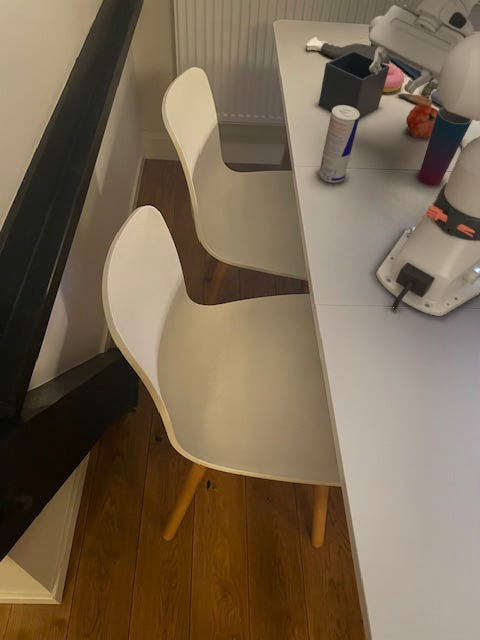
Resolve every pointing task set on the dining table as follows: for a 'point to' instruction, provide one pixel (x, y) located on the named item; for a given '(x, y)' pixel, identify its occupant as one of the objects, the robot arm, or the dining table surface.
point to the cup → (442, 145)
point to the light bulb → (374, 23)
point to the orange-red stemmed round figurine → (421, 120)
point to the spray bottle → (344, 49)
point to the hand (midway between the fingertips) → (389, 81)
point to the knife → (429, 88)
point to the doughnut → (393, 79)
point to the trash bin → (352, 83)
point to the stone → (416, 99)
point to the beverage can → (338, 143)
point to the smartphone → (407, 68)
